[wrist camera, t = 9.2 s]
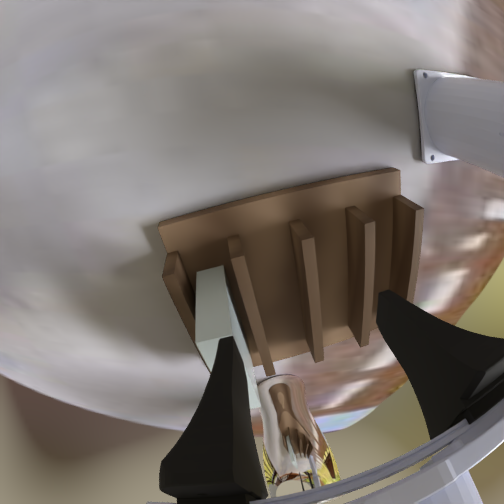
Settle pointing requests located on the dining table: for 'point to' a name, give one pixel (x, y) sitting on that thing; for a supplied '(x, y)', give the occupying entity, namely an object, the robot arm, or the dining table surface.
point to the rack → (301, 261)
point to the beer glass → (293, 440)
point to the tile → (221, 323)
